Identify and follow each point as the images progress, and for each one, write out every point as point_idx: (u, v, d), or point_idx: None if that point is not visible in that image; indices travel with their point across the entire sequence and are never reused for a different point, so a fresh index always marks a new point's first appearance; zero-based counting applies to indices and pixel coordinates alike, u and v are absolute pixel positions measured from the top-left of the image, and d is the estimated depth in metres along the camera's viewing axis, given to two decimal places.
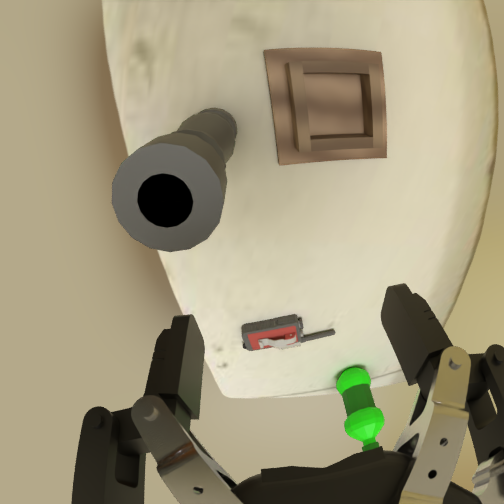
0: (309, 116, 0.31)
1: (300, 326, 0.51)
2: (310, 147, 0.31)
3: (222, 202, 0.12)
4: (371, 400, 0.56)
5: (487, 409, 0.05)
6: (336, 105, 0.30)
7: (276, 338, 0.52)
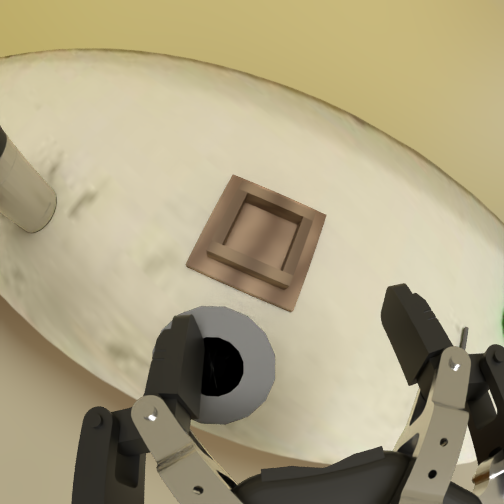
0: (262, 263, 0.38)
1: None
2: (289, 274, 0.35)
3: (247, 318, 0.12)
4: None
5: (487, 409, 0.05)
6: (264, 235, 0.39)
7: None
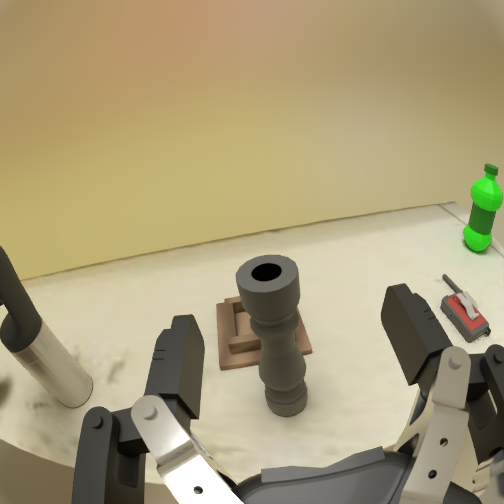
0: None
1: None
2: None
3: (267, 255, 0.27)
4: (472, 208, 0.55)
5: (487, 409, 0.05)
6: None
7: (465, 308, 0.41)
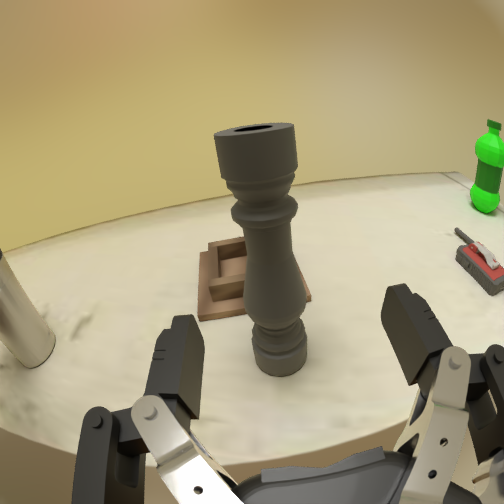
0: None
1: None
2: None
3: (256, 124, 0.20)
4: (478, 166, 0.49)
5: (487, 409, 0.05)
6: None
7: (483, 258, 0.34)
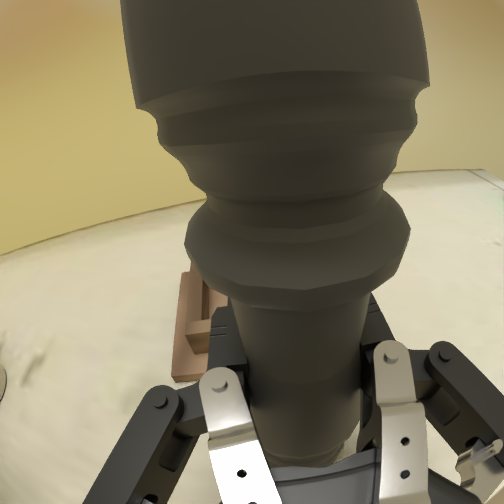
0: None
1: None
2: None
3: None
4: None
5: (447, 402, 0.07)
6: None
7: None
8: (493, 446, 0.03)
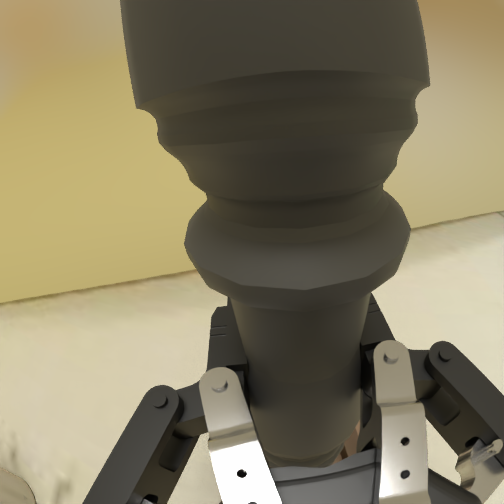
0: None
1: None
2: None
3: None
4: None
5: (447, 401, 0.07)
6: None
7: None
8: (493, 446, 0.03)
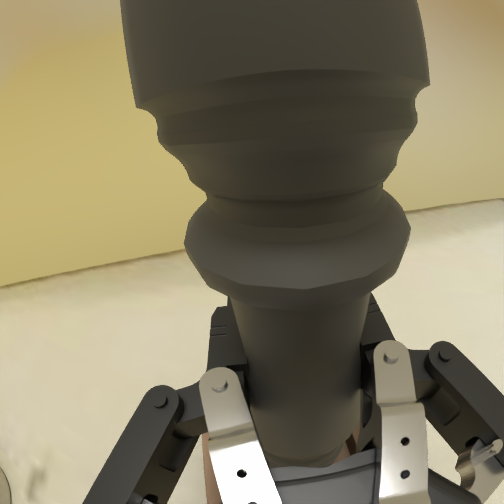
0: None
1: None
2: None
3: None
4: None
5: (447, 402, 0.07)
6: None
7: None
8: (493, 446, 0.03)
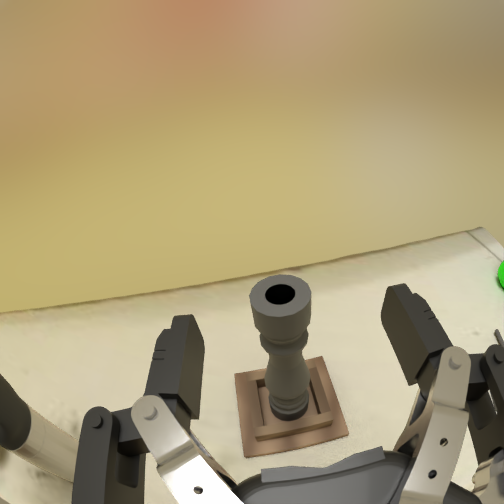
0: None
1: None
2: (327, 412, 0.33)
3: None
4: None
5: (487, 409, 0.05)
6: None
7: None
8: None
